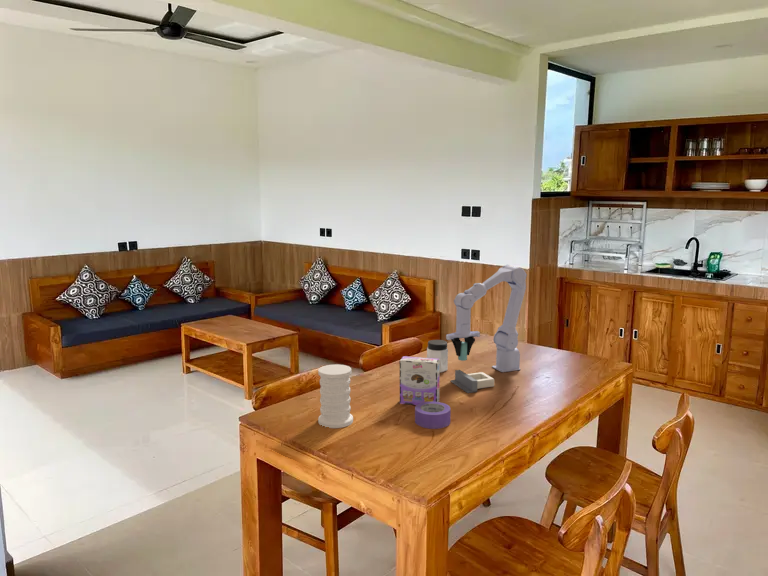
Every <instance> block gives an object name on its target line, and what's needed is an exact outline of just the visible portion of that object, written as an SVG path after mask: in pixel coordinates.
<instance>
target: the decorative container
mask: <svg viewBox="0 0 768 576" xmlns="http://www.w3.org/2000/svg"><path fill="white" fill-rule="evenodd" d="M317 371H318V372H317V373H318V376H319V377H320V379H319V385H320V389H319V393H320V398H319V402H320V405H321V406H320V410H319V412H320V415H319V416H318V421H317V422H318V424H319V426H321V425H322V426H321V427H323V426H325V427H324V428H326V427H329V428H328V429H341V428H345V427H348V426H351V425H352V424H353V422H354V416H353V414H351V413H350V412H351V409H352V408H351V405H350V403H351V400H352V398H351V396H350V394H351V391H352V390H351V387H350V384H351V378H350V376H351V375H352V367H350V366H349V365H346V364H338V363H337V364H327V365H323V366H320V367H319V368H318V369H317Z"/></svg>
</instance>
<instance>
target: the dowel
mask: <svg viewBox="0 0 768 576" xmlns="http://www.w3.org/2000/svg"><path fill="white" fill-rule="evenodd" d="M457 360H458V361H460V362H461V361H462V362H464V361H468V355H467V342H465V341H462V343H461V349H460V356H457Z"/></svg>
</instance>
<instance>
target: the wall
mask: <svg viewBox="0 0 768 576" xmlns="http://www.w3.org/2000/svg"><path fill="white" fill-rule="evenodd" d="M467 374H468V373H466V372H464V371H463V370H461V369H455V370H454V379H452V380H450V382H451V383H452V385H455V386H456V387H458V388H459V389H461V390H462V391H464V392H465V393H467V394H471V393H477V392H478V389H477V380H476V379H474V378H472V377H471V376H469V375H467Z"/></svg>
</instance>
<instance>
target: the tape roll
mask: <svg viewBox="0 0 768 576" xmlns="http://www.w3.org/2000/svg"><path fill="white" fill-rule="evenodd" d="M414 423H415V424H416V425H417V426H419V427H421V428H424V429H432V430H436V429H437V430H438V429H443V428H446V427H448V426H449V425H450V424H451V406H450V405H448V404H447V403H444V402H440V401H439V402H423V403H420V404H418V405H415V407H414Z"/></svg>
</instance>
